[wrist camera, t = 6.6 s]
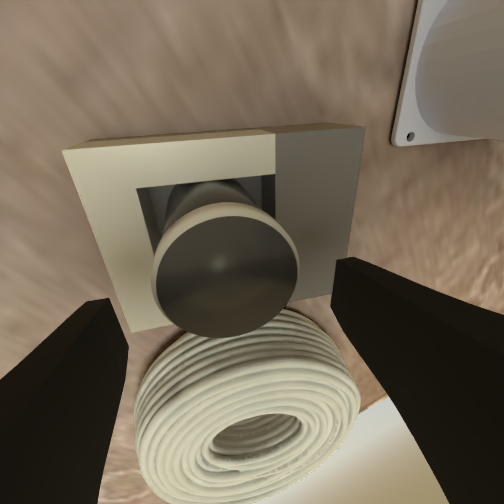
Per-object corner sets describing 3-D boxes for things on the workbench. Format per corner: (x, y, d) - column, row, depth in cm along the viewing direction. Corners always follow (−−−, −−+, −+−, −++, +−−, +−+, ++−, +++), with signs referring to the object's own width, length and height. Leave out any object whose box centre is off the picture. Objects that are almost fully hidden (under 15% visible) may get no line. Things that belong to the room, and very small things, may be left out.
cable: (210, 455, 28) (216, 531, 23) (84, 378, 19) (48, 476, 14) (352, 378, 28) (391, 440, 22) (289, 260, 19) (330, 320, 13)
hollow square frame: (327, 122, 14) (365, 126, 11) (315, 262, 19) (341, 292, 16) (91, 139, 12) (61, 150, 9) (140, 292, 17) (131, 332, 14)
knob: (256, 240, 16) (303, 321, 10) (177, 258, 15) (174, 356, 9) (246, 159, 13) (299, 198, 7) (151, 175, 13) (125, 233, 7)
